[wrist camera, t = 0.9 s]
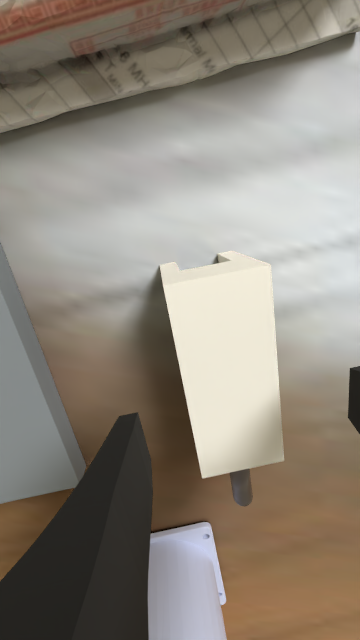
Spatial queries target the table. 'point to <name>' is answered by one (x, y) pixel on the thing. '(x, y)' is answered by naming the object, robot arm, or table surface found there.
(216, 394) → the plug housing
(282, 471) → the table surface
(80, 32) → the packaged product
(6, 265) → the board
